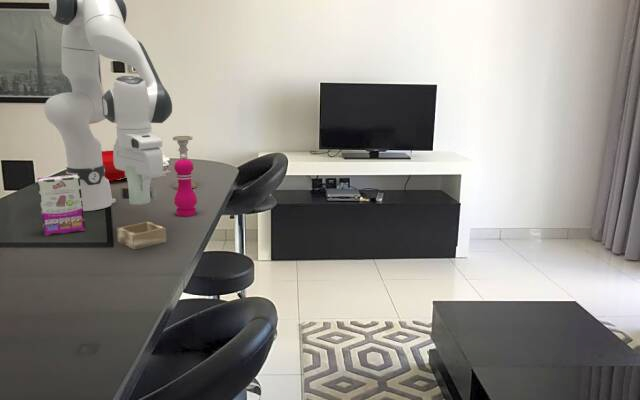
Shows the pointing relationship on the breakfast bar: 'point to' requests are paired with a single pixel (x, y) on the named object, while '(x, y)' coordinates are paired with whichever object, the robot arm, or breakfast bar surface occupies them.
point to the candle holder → (183, 151)
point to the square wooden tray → (141, 235)
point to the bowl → (111, 167)
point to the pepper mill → (184, 188)
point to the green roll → (136, 188)
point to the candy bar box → (61, 204)
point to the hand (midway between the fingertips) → (139, 189)
